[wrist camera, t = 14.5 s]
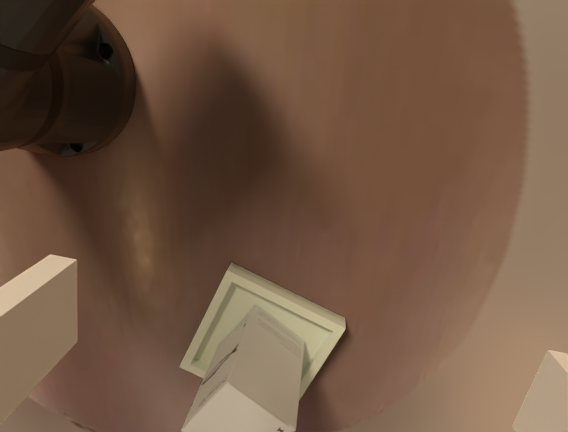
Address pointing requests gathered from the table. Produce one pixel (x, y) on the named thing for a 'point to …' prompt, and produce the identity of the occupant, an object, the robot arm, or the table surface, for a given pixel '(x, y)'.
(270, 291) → the tray
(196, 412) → the supplement box
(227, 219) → the table surface
